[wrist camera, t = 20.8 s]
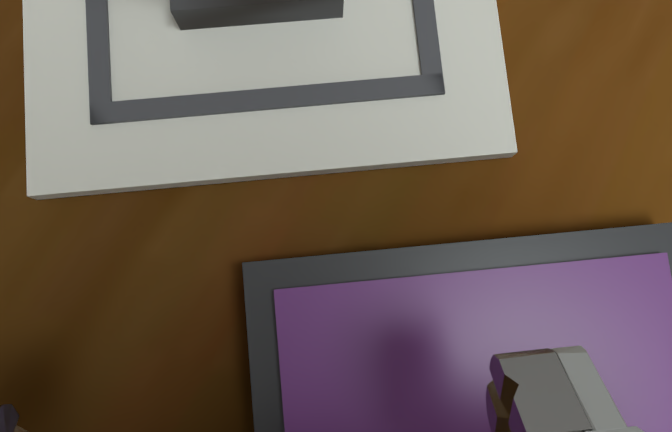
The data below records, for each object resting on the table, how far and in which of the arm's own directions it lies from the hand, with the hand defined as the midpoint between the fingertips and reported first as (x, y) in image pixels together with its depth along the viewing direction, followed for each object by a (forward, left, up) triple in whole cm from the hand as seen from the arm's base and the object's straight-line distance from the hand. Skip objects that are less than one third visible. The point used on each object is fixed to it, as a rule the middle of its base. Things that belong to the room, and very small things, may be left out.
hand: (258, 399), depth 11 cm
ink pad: (+5, -2, -7) cm, 9 cm away
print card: (0, +12, -7) cm, 14 cm away
